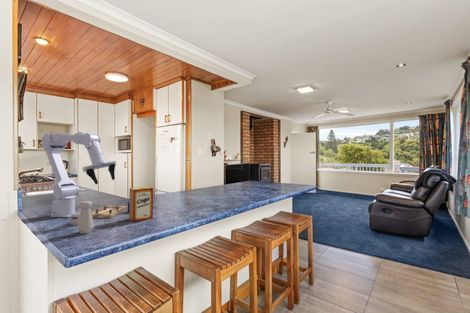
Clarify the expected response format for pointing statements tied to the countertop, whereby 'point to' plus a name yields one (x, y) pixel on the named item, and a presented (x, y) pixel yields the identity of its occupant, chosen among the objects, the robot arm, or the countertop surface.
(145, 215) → the baking soda box
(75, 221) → the drive block
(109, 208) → the pin tray
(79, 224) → the salt shaker
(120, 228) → the countertop surface
